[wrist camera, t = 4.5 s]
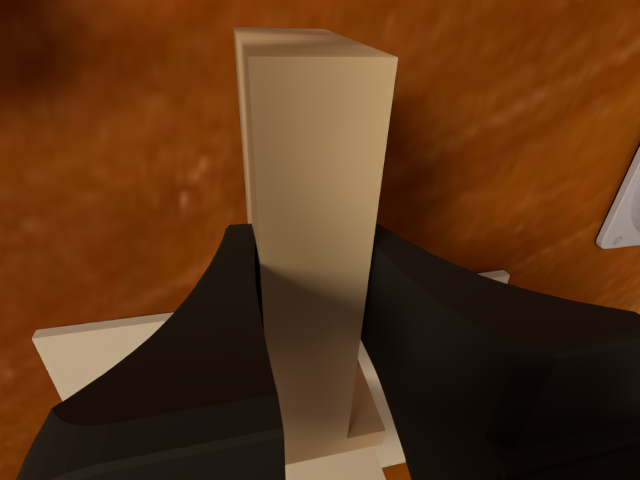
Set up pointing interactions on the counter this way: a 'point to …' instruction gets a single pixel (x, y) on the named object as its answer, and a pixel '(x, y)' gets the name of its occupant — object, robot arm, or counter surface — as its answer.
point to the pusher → (314, 221)
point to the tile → (339, 467)
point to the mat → (127, 334)
